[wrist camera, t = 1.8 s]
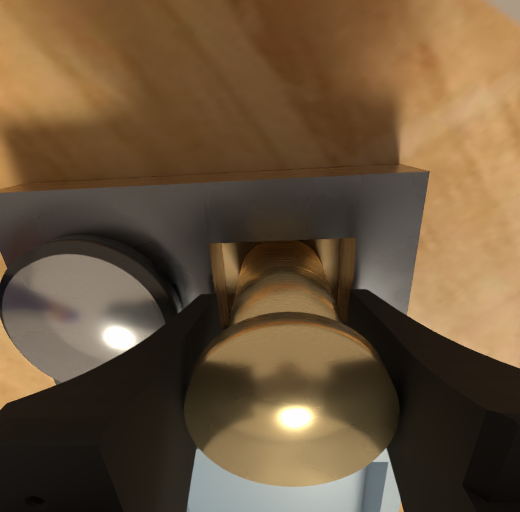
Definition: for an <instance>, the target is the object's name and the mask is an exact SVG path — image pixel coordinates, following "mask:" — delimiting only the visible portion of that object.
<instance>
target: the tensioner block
mask: <svg viewBox="0 0 520 512" xmlns="http://www.w3.org/2000/svg"><path fill="white" fill-rule="evenodd" d="M429 172H430V171H426V170H422V169H418V168H414V167H410V166H406V165H402V164H389V165H369V166H350V167H331V168H311V169H292V170H273V171H253V172H234V173H215V174H195V175H176V176H157V177H137V178H118V179H99V180H79V181H60V182H41V183H27V184H22V185H17V186H12V187H8V188H3V189H0V252H1V254H2V256H3V259H4V261H5V264H6V266H7V268H8V269H7V270H6V272H5V273H4V275H3V277H2V280H1V282H0V318H1V321H2V323H3V326H4V329H5V330H6V332H7V334H8V336H9V338H10V339H11V341H12V342H13V344H14V345H15V346H16V348H17V349H18V350H19V351H20V352H21V353H22V355H23V356H24V357H25V358H26V359H27V360H28V361H29V362H30V363H32V364H33V365H34V366H35V367H37V368H38V369H39V370H41V371H42V372H44V373H45V374H47V375H48V376H50V377H52V378H53V379H54V381H55V383H56V385H58V384H60V383H63V382H65V381H67V380H70V379H72V378H74V377H77V376H79V375H81V374H83V373H85V372H87V371H90V370H92V369H94V368H96V367H98V366H100V365H101V364H103V363H105V362H107V361H109V360H111V359H113V358H115V357H116V356H118V355H120V354H122V353H124V352H125V351H127V350H129V349H130V348H132V347H133V346H135V345H137V344H138V343H140V342H141V341H143V340H144V339H146V338H147V337H149V336H150V335H152V334H153V333H154V332H155V331H157V330H158V329H159V328H161V327H162V326H163V325H165V324H166V323H167V322H168V321H170V320H171V319H172V318H173V317H175V316H176V315H177V314H178V313H179V312H180V311H182V310H183V309H184V308H185V307H186V306H187V305H189V304H190V303H191V302H192V301H193V300H194V299H195V298H197V297H198V296H199V295H200V294H217V302H218V310H219V318H220V326H221V332H222V331H224V330H226V329H227V326H228V322H229V318H230V317H229V308H228V299H227V290H226V281H225V272H224V263H223V254H222V245H221V243H232V242H258V241H283V240H309V239H334V238H341V243H340V262H339V281H338V300H337V308H338V311H339V314H340V317H341V319H342V322H343V324H345V325H346V326H347V321H348V307H349V293H350V289H367V290H369V291H371V292H372V293H374V294H375V295H377V296H378V297H380V298H381V299H383V300H384V301H386V302H387V303H388V304H390V305H391V306H393V307H394V308H396V309H397V310H399V311H400V312H402V313H404V314H405V315H407V310H408V304H409V298H410V291H411V285H412V279H413V272H414V266H415V260H416V254H417V247H418V241H419V235H420V228H421V222H422V216H423V209H424V203H425V197H426V191H427V184H428V178H429Z"/></svg>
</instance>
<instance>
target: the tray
mask: <svg viewBox="0 0 520 512" xmlns="http://www.w3.org/2000/svg"><path fill="white" fill-rule="evenodd" d="M400 503H401V499H400V495H399V491H398V487H397V484H396V480H395V477H394V473H393V469H392V466H391V462H390V459H389V455H388V452H387V448H386V449H385V450H384V451H383V452H382V453H381V454H380V455H379V456H378V457H377V458H376V459H375V460H374V461H372V462H371V463H370V464H369V465H367V466H366V467H364V468H362V469H361V470H359V471H357V472H355V473H353V474H351V475H349V476H347V477H344V478H342V479H339V480H335V481H332V482H329V483H324V484H319V485H313V486H304V487H284V486H273V485H266V484H262V483H257V482H253V481H250V480H247V479H244V478H241V477H239V476H237V475H234V474H232V473H230V472H228V471H226V470H224V469H223V468H221V467H220V466H218V465H217V464H215V463H214V462H213V461H211V460H210V459H209V458H208V457H207V456H205V454H204V453H203V452H202V451H201V450H200V449H199V448H198V447H197V449H196V455H195V461H194V467H193V473H192V479H191V485H190V492H189V498H188V505H187V512H399V508H400Z"/></svg>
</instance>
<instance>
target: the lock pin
mask: <svg viewBox="0 0 520 512" xmlns="http://www.w3.org/2000/svg"><path fill="white" fill-rule="evenodd" d="M399 413H400V407H399V399H398V396H397V392H396V389H395V387H394V385H393V383H392V381H391V379H390V376H389V374H388V372H387V370H386V368H385V366H384V364H383V362H382V360H381V358H380V356H379V354H378V353H377V351H376V350H375V349H374V347H373V346H372V345H371V344H370V343H369V342H368V341H367V340H366V339H365V338H364V337H363V336H362V335H360V334H359V333H358V332H356V331H355V330H354V329H352V328H350V327H348V326H346V325H345V324H343V322H342V319H341V317H340V314H339V311H338V308H337V306H336V303H335V300H334V297H333V295H332V292H331V289H330V286H329V284H328V281H327V278H326V275H325V272H324V270H323V267H322V264H321V261H320V259H319V258H318V256H317V254H316V253H315V252H314V251H313V250H312V249H311V248H310V247H309V246H307V245H306V244H304V243H303V242H300V241H298V240H283V241H264V242H262V243H260V244H258V245H257V246H255V247H254V248H253V249H252V250H251V251H250V252H249V253H248V254H247V256H246V257H245V259H244V261H243V263H242V267H241V271H240V275H239V279H238V284H237V288H236V292H235V296H234V301H233V305H232V309H231V314H230V318H229V322H228V326H227V329H226V330H224V331H222V332H221V333H220V334H219V335H218V336H216V337H215V338H214V339H213V340H212V341H211V342H210V343H209V344H208V345H207V346H206V347H205V349H204V350H203V352H202V353H201V355H200V356H199V359H198V361H197V363H196V365H195V368H194V371H193V374H192V377H191V380H190V383H189V386H188V389H187V393H186V397H185V401H184V416H185V422H186V425H187V429H188V431H189V433H190V435H191V437H192V439H193V441H194V442H195V444H196V445H197V447H198V448H199V449H200V450H201V451H202V452H203V453H204V454H205V456H207V457H208V458H209V459H210V460H211V461H213V462H214V463H215V464H217V465H218V466H220V467H221V468H223V469H224V470H226V471H228V472H230V473H232V474H234V475H237V476H239V477H241V478H244V479H247V480H250V481H253V482H257V483H262V484H266V485H273V486H284V487H304V486H313V485H319V484H324V483H329V482H332V481H335V480H339V479H342V478H344V477H347V476H349V475H351V474H353V473H355V472H357V471H359V470H361V469H362V468H364V467H366V466H367V465H369V464H370V463H371V462H372V461H374V460H375V459H376V458H377V457H378V456H379V455H380V454H381V453H382V452H383V451H384V450H385V449H386V447H387V446H388V445H389V443H390V442H391V440H392V438H393V436H394V434H395V432H396V429H397V426H398V422H399Z"/></svg>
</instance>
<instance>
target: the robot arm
mask: <svg viewBox="0 0 520 512" xmlns="http://www.w3.org/2000/svg"><path fill="white" fill-rule="evenodd" d="M347 326H348V327H350V328H352V329H354V330H355V331H356V332H358V333H359V334H360V335H362V336H363V337H364V338H365V339H366V340H367V341H368V342H369V343H370V344H371V345H372V346H373V347H374V349H375V350H376V351H377V353H378V354H379V356H380V358H381V360H382V362H383V364H384V366H385V368H386V370H387V372H388V374H389V376H390V379H391V381H392V383H393V385H394V387H395V389H396V392H397V396H398V399H399V407H400V413H399V422H398V426H397V429H396V432H395V434H394V436H393V438H392V440H391V442H390V443H389V445H388V446H387V447H386V448H387V452H388V455H389V459H390V462H391V466H392V469H393V473H394V477H395V480H396V484H397V487H398V491H399V495H400V499H401V503H402V506H403V510H404V512H520V368H517V367H514V366H511V365H509V364H506V363H503V362H500V361H498V360H495V359H493V358H490V357H488V356H486V355H483V354H481V353H478V352H476V351H473V350H471V349H469V348H467V347H464V346H462V345H460V344H458V343H456V342H454V341H452V340H450V339H448V338H446V337H444V336H441V335H440V334H438V333H436V332H434V331H432V330H430V329H429V328H427V327H425V326H423V325H422V324H420V323H418V322H416V321H415V320H413V319H412V318H410V317H408V316H407V315H405V314H404V313H402V312H400V311H399V310H397V309H396V308H394V307H393V306H391V305H390V304H388V303H387V302H386V301H384V300H383V299H381V298H380V297H378V296H377V295H375V294H374V293H372V292H371V291H369V290H367V289H350V293H349V307H348V321H347ZM220 333H221V326H220V318H219V310H218V302H217V294H200V295H199V296H198V297H197V298H195V299H194V300H193V301H192V302H191V303H190V304H189V305H187V306H186V307H185V308H184V309H183V310H182V311H180V312H179V313H178V314H177V315H176V316H175V317H173V318H172V319H171V320H170V321H168V322H167V323H166V324H165V325H163V326H162V327H161V328H159V329H158V330H157V331H155V332H154V333H153V334H152V335H150V336H149V337H147V338H146V339H144V340H143V341H141V342H140V343H138V344H137V345H135V346H133V347H132V348H130V349H129V350H127V351H125V352H124V353H122V354H120V355H118V356H116V357H115V358H113V359H111V360H109V361H107V362H105V363H103V364H101V365H100V366H98V367H96V368H94V369H92V370H90V371H87V372H85V373H83V374H81V375H79V376H77V377H74V378H72V379H70V380H67V381H65V382H63V383H60V384H58V385H55V386H53V387H51V388H48V389H45V390H42V391H40V392H37V393H34V394H32V395H29V396H26V397H23V398H21V399H18V400H15V401H12V402H9V403H7V404H6V405H5V406H4V407H3V408H2V409H1V410H0V512H187V505H188V498H189V492H190V485H191V479H192V473H193V467H194V461H195V455H196V449H197V445H196V444H195V442H194V441H193V439H192V437H191V435H190V433H189V431H188V429H187V425H186V422H185V416H184V401H185V397H186V393H187V389H188V386H189V383H190V380H191V377H192V374H193V371H194V368H195V365H196V363H197V361H198V359H199V356H200V355H201V353H202V352H203V350H204V349H205V347H206V346H207V345H208V344H209V343H210V342H211V341H212V340H213V339H214V338H215V337H216V336H218V335H219V334H220Z"/></svg>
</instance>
